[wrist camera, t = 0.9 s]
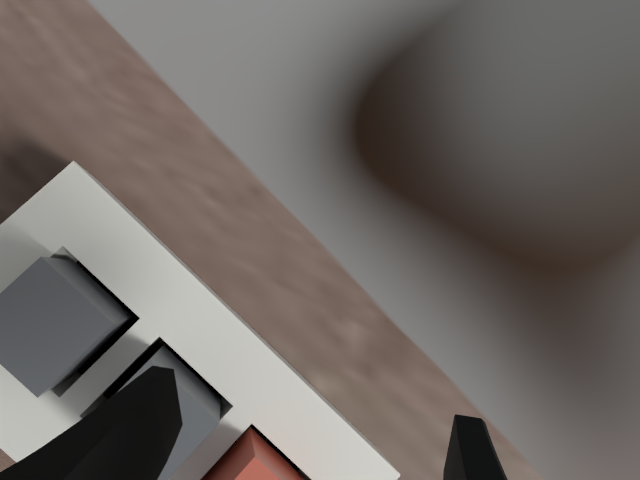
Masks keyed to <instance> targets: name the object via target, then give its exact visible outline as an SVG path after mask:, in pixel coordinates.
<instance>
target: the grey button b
mask: <svg viewBox="0 0 640 480" xmlns="http://www.w3.org/2000/svg"><path fill="white" fill-rule="evenodd" d="M151 366H159V367H165V368H171V369H174V373H175V379H176V385H177V391H178V398H179V404H180V410H181V416H182V423H183V425H182V428H181V430H180V433H179V435H178V438H177V440H176V443H175V445H174V447H173V450H172V452H171V454H170V456H169V459H168V461H167V463H166V465H165V467H164V468H163V470H162V472H161V474H160V476H159V477H158V479H157V480H167V479H168V478H169V477H170V476H171V475H172V474H173V473H174V472H175V471H176V470H177V469H178V467H179V466H180V465H181V464H182V463H183V462H184V461H185V460H186V459H187V458H188V457H189V456H190V455H191V453H192V452H193V451H194V450H195V449H196V448H197V447H198V446H199V445H200V444H201V443H202V442H203V441H204V439H205V438H206V437H207V436H208V435H209V434H210V433H211V432H212V431H213V430H214V429H215V428H216V427H217V425H218V424H219V423H220V398H219V397H218V396H217V395H216V394H215V393H214V392H213V391H211V390H210V389H209V388H208V387H207V386H206V385H205V384H204V383H203V382H202V381H201V380H200V379H199V378H198V377H197V376H195V375H194V374H193V373H192V372H191V371H190V370H189V369H188V368H187V367H186V366H185V365H184V364H183V363H182V362H181V361H180V360H178V359H177V358H176V357H175V356H174V355H173V354H172V353H171V352H170V351H169V350H168V349H167V348H166V347H165V346H164V345H163V346H162V347H161V348H160V349H159V350H158V351H157V352H156V353H155V354H154V355H153V356H152V357H151V358H150V359H149V360H148V361H147V362H146V363H145V364H144V365H143V366H142V367H141V368H140V369H139V370H138V371H137V372H136V373H135V374H134V375H133V376H132V377H131V378H130V379H129V380H128V381H127V382H126V383H125V384H124V385H123V386H122V387H121V388H120V389H119V390H118V391H120V390H121V389H122V388H124V387H125V386H126V385H128V384H129V383H130V382H131V381H133V380H134V379H135V378H137V377H138V376H139V375H141V374H142V373H143V372H145V371H146V370H147V369H149V368H150V367H151ZM118 391H117V392H118ZM117 392H116V393H117ZM116 393H115V394H116ZM115 394H114V395H115Z"/></svg>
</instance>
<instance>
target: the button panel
mask: <svg viewBox="0 0 640 480" xmlns="http://www.w3.org/2000/svg"><path fill="white" fill-rule="evenodd" d="M41 256H42V257H49V258H57V259H65V260H73V261H74V262H75V263H76V262H77V261H78V260H79V261H80V262H81V263H82V264H83V265H84V266H85V267H86V268H87V269H88V270H89V271H90V272H91V273H92V274H93V275H94V276H96V277H97V278H98V279H99V280H100V281H101V282H102V283H103V284H104V285H105V286H106V287H107V288H108V289H109V290H110V291H112V292H113V293H114V294H115V295H116V296H117V297H118V298H119V299H120V300H121V301H122V302H123V303H124V304H125V305H126V306H127V307H129V308H130V309H131V310H132V311H133V312H134V313H135V314H136V315H137V316H138V317H139V318H140V319H139V320H138V321H137V322H136V323H135V324H134V325H133V326H132V327H131V328H130V329H129V330H128V331H127V332H126V333H125V334H124V335H123V336H122V337H121V338H120V339H119V340H118V341H117V342H116V343H115V344H114V345H113V346H111V347H110V348H109V349H108V350H107V351H106V352H105V353H104V354H103V355H102V356H101V357H100V358H99V359H98V360H97V361H96V362H95V363H94V364H93V365H92V366H91V367H90V368H89V369H88V370H87V371H86V372H85V373H84V374H83V375H81V374H80V373H79V372H78V371H76V372H75V373H74V374H73V375H72V376H71V377H70V378H68V379H66V380H65V381H63V382H62V383H60V384H58V385H57V386H55V387H54V388H52V389H51V390H49V391H47V392H46V393H44V394H43V395H41V396H39V397H38V398H37V397H36V396H35V395H34V394H33V393H32V392H30V391H29V390H28V389H27V388H26V387H25V386H24V385H23V384H22V383H20V382H19V381H18V380H17V379H16V378H15V377H14V376H13V375H12V374H10V373H9V372H8V371H7V370H6V369H5V368H4V367H3V366H2V365H1V364H0V448H1V449H2V450H3V451H4V452H5V453H6V454H8V455H9V456H10V457H11V458H12V459H13V460H14V461H15V462H19V461H20V460H22V459H24V458H25V457H27V456H28V455H30V454H32V453H33V452H35V451H36V450H38V449H39V448H41V447H42V446H44V445H45V444H47V443H48V442H50V441H51V440H53V439H54V438H55V437H57V436H58V435H60V434H61V433H63V432H64V431H66V430H67V429H69V428H70V427H71V426H73V425H74V424H76V423H77V422H79V421H80V420H81V419H83V418H84V417H85V416H87V415H88V414H89V413H91V412H92V411H93V410H95V409H96V408H97V407H99V406H100V405H101V404H103V403H104V402H105V401H107V400H108V399H107V398H106V397H105V396H104V395H103V393H104V392H105V391H106V390H107V389H108V388H109V387H110V386H111V385H112V384H113V383H114V382H115V381H116V380H117V379H118V378H119V377H120V376H121V375H122V374H123V373H124V372H125V371H126V370H127V369H128V368H129V367H130V366H131V365H132V364H133V363H134V362H135V361H136V360H137V359H138V358H139V357H140V356H141V355H142V354H143V353H144V352H145V351H146V350H147V349H148V348H149V347H150V346H151V345H152V344H153V343H154V342H155V341H156V340H157V339H158V338H159V337H160V338H161V339H163V340H164V341H165V342H166V343H167V344H168V345H169V346H170V347H171V348H172V349H173V350H174V351H175V352H176V353H177V354H179V355H180V356H181V357H182V358H183V359H184V360H185V361H186V362H187V363H188V364H189V365H190V366H191V367H192V368H193V369H194V370H196V371H197V372H198V373H199V374H200V375H201V376H202V377H203V378H204V379H205V380H206V381H207V382H208V383H209V384H210V385H211V386H213V387H214V388H215V389H216V390H217V391H218V392H219V393H220V394H221V395H222V396H223V397H222V398H221V399H220V423H219V424H218V425H217V427H216V428H215V429H214V430H213V431H212V432H211V433H210V434H209V435H208V436H207V437H206V438H205V439H204V441H203V442H202V443H201V444H200V445H199V446H198V447H197V448H196V449H195V450H194V451H193V452H192V453H191V455H190V456H189V457H188V458H187V459H186V460H185V461H184V462H183V463H182V464H181V465H180V466H179V467H178V469H177V470H176V471H175V472H174V473H173V474H172V475H171V476H170V477H169V478H168V479H167V480H200V479H201V478H202V477H203V476H204V475H205V474H206V473H207V472H208V471H209V470H210V468H211V467H212V466H213V465H214V464H215V463H216V462H217V461H218V460H219V459H220V457H221V456H222V455H223V454H224V453H225V452H226V451H227V450H228V449H229V448H230V447H231V445H232V444H233V443H234V442H235V441H236V440H237V439H238V438H239V437H240V436H241V435H242V433H243V432H244V431H245V430H246V429H247V428H248V427H249V426H250V425H251V424H253V425H254V426H255V427H256V428H257V429H258V430H259V431H260V432H261V433H263V434H264V435H265V436H266V437H267V438H268V439H269V440H270V441H271V442H272V443H273V444H274V445H275V446H276V447H277V448H278V449H280V450H281V451H282V452H283V453H284V454H285V455H286V456H287V457H288V458H289V459H290V460H291V461H292V462H293V463H294V464H296V465H297V466H298V467H299V468H300V469H299V470H298V472H299V473H300V474H301V475H302V476H303V477H304V478H305V479H306V480H397V479H398V478H399V476H400V473H399V472H398V471H397V470H396V469H395V468H394V467H393V466H392V465H391V464H390V462H389V461H388V460H387V459H386V458H385V457H384V456H383V455H382V454H381V452H380V451H379V450H378V449H377V448H376V447H375V446H374V445H373V444H372V443H371V442H370V441H369V440H368V439H367V438H366V437H365V436H364V435H363V434H362V433H361V432H360V431H358V430H357V429H356V428H355V427H354V426H353V425H352V424H351V423H350V422H349V421H348V420H347V419H346V418H345V417H344V416H343V415H342V414H341V413H340V412H339V411H338V410H337V409H336V408H335V407H333V406H332V405H331V404H330V403H329V402H328V401H327V400H326V399H325V398H324V397H323V396H322V395H321V394H320V393H319V392H318V391H317V390H316V389H315V388H314V387H313V386H312V385H311V384H310V383H309V382H307V381H306V380H305V379H304V378H303V377H302V376H301V375H300V374H299V373H298V372H297V371H296V370H295V369H294V368H293V367H292V366H291V365H290V364H289V363H288V362H287V361H286V360H285V359H284V358H283V357H281V356H280V355H279V354H278V353H277V352H276V351H275V350H274V349H273V348H272V347H271V346H270V345H269V344H268V343H267V342H266V341H265V340H264V339H263V338H262V337H261V336H260V335H259V334H258V333H256V332H255V331H254V330H253V329H252V328H251V327H250V326H249V325H248V324H247V323H246V322H245V321H244V320H243V319H242V318H241V317H240V316H239V315H238V314H237V313H236V312H235V311H234V310H233V309H232V308H230V307H229V306H228V305H227V304H226V303H225V302H224V301H223V300H222V299H221V298H220V297H219V296H218V295H217V294H216V293H215V292H214V291H213V290H212V289H211V288H210V287H209V286H208V285H207V284H205V283H204V282H203V281H202V280H201V279H200V278H199V277H198V276H197V275H196V274H195V273H194V272H193V271H192V270H191V269H190V268H189V267H188V266H187V265H186V264H185V263H184V262H183V261H182V260H181V259H179V258H178V257H177V256H176V255H175V254H174V253H173V252H172V251H171V250H170V249H169V248H168V247H167V246H166V245H165V244H164V243H163V242H162V241H161V240H160V239H159V238H158V237H157V236H156V235H155V234H153V233H152V232H151V231H150V230H149V229H148V228H147V227H146V226H145V225H144V224H143V223H142V222H141V221H140V220H139V219H138V218H137V217H136V216H135V215H134V214H133V213H132V212H131V211H130V210H128V209H127V208H126V207H125V206H124V205H123V204H122V203H121V202H120V201H119V200H118V199H117V198H116V197H115V196H114V195H113V194H112V193H111V192H110V191H109V190H108V189H107V188H106V187H105V186H104V185H102V184H101V183H100V182H99V181H98V180H97V179H96V178H95V177H94V176H92V175H91V174H90V173H88V172H87V171H86V170H85V169H83V168H82V167H81V166H80V165H78V164H77V163H76V162H75V161H73V162H71V163H70V164H69V165H68V166H67V167H66V168H65V169H63V170H62V171H61V172H60V173H59V174H58V175H57V176H55V177H54V178H53V179H52V180H51V181H50V182H49V183H47V184H46V185H45V186H44V187H43V188H42V189H41V190H39V191H38V192H37V193H36V194H35V195H34V196H33V197H31V198H30V199H29V200H28V201H27V202H26V203H25V204H23V205H22V206H21V207H20V208H19V209H18V210H17V211H15V212H14V213H13V214H12V215H11V216H10V217H9V218H7V219H6V220H5V221H4V222H3V223H2V224H1V225H0V293H1V292H2V291H3V290H4V289H6V288H7V287H8V286H9V285H10V284H11V283H12V282H13V281H14V280H15V279H17V278H18V277H19V276H20V275H21V274H22V273H23V272H24V271H25V270H27V269H28V268H29V267H30V266H31V265H32V264H33V263H34V262H35V261H36V260H38V259H39V258H40V257H41Z"/></svg>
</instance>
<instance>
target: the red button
mask: <svg viewBox="0 0 640 480" xmlns="http://www.w3.org/2000/svg"><path fill="white" fill-rule="evenodd" d="M202 480H306V479H305V478H304V477H303V476H302V475H301V474H300V473H299V472H298V471H297V470H296V469H294V468H293V467H292V466H291V465H290V464H289V463H288V462H287V461H286V460H285V459H284V458H283V457H282V456H281V455H280V454H278V453H277V452H276V451H275V450H274V449H273V448H272V447H271V446H270V445H269V444H268V443H267V442H266V441H265V440H264V439H263V438H261V437H260V436H259V435H258V434H257V433H256V432H255V431H254V430H253V429H252V428H251V427H249V428H248V429H247V431H246V432H245V433H244V434H243V435H242V436H241V437H240V438H239V439H238V440H237V441H236V443H235V444H234V445H233V446H232V447H231V448H230V449H229V450H228V451H227V452H226V454H225V455H224V456H223V457H222V458H221V459H220V460H219V461H218V462H217V463H216V464H215V466H214V467H213V468H212V469H211V470H210V471H209V472H208V473H207V474H206V475H205V477H204V478H203V479H202Z"/></svg>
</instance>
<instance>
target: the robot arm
mask: <svg viewBox="0 0 640 480" xmlns="http://www.w3.org/2000/svg"><path fill="white" fill-rule="evenodd" d="M182 425H183V423H182V416H181V410H180V404H179V398H178V391H177V385H176V379H175V373H174V369H171V368H165V367H159V366H151V367H150V368H149V369H147V370H146V371H145V372H143V373H142V374H141V375H139V376H138V377H137V378H135V379H134V380H133V381H131V382H130V383H129V384H128V385H126V386H125V387H124V388H122V389H121V390H120V391H118V392H117V393H116V394H115V395H113V396H112V397H111V398H109V399H108V400H107V401H105V402H104V403H103V404H101V405H100V406H99V407H97V408H96V409H95V410H93V411H92V412H91V413H89V414H88V415H87V416H85V417H84V418H83V419H81V420H80V421H79V422H77V423H76V424H74V425H73V426H71V427H70V428H69V429H67V430H66V431H64V432H63V433H61V434H60V435H58V436H57V437H55V438H54V439H53V440H51V441H50V442H48V443H47V444H45V445H44V446H42V447H41V448H39V449H38V450H36V451H35V452H33V453H32V454H30V455H28V456H27V457H25V458H24V459H22V460H20V461H19V462H17V463H15V464H14V465H12V466H10V467H9V468H7V469H5V470H3V471H2V472H0V480H157V479H158V477H159V476H160V474H161V472H162V470H163V468H164V467H165V465H166V463H167V461H168V459H169V456H170V454H171V452H172V450H173V447H174V445H175V443H176V440H177V438H178V435H179V433H180V430H181V428H182ZM443 480H507V477H506V475H505V473H504V471H503V468H502V466H501V464H500V461H499V459H498V457H497V454H496V452H495V449H494V446H493V444H492V441H491V438H490V436H489V433H488V430H487V427H486V424H485V422H484V421H483V420H482V419H481V418H475V417H468V416H462V415H456V414H455V416H454V422H453V427H452V432H451V437H450V442H449V447H448V452H447V457H446V462H445V467H444V478H443Z"/></svg>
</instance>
